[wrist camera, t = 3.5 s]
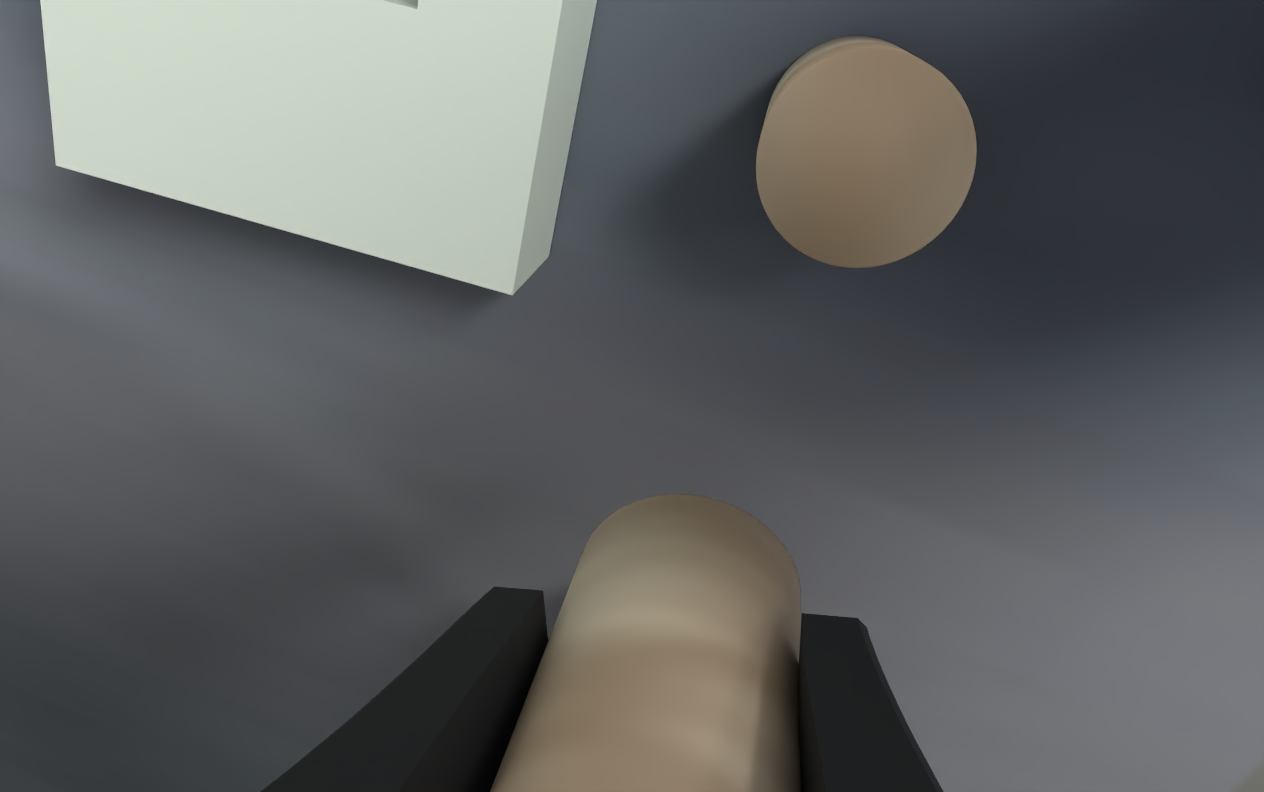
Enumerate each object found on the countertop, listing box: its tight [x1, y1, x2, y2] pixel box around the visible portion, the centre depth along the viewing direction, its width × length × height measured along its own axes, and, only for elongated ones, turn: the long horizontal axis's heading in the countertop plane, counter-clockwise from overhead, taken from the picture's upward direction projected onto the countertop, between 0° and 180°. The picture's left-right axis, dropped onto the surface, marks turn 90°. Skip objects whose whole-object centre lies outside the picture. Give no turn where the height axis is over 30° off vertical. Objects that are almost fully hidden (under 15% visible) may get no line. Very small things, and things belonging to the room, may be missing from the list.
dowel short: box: [756, 36, 977, 268], centre depth 14 cm, size 3×3×4 cm
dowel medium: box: [490, 494, 801, 792], centre depth 9 cm, size 3×3×6 cm
